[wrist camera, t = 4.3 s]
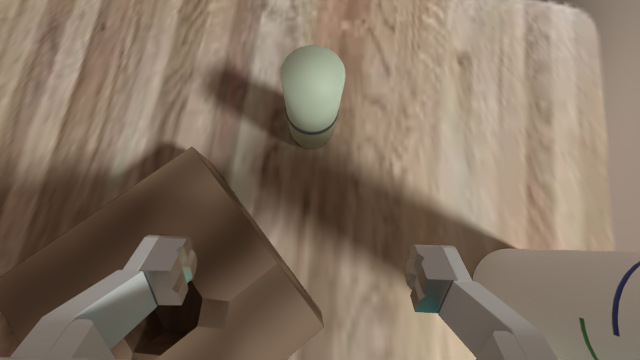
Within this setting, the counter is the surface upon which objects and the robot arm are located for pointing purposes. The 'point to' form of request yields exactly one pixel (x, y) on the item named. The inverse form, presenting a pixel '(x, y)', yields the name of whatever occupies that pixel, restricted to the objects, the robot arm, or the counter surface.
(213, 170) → the socket block
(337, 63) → the peg
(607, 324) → the cylindrical container
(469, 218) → the counter surface
